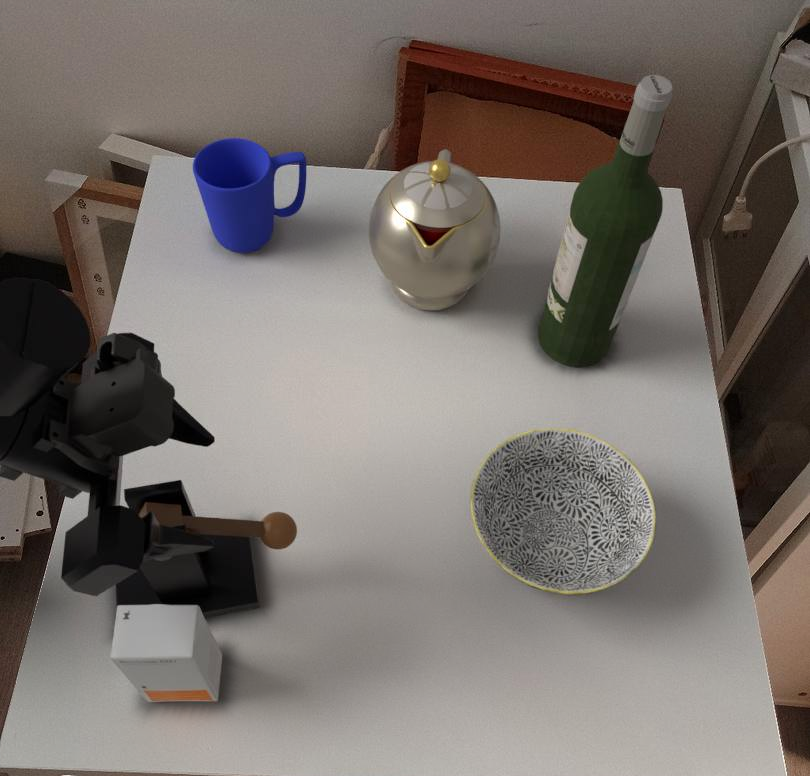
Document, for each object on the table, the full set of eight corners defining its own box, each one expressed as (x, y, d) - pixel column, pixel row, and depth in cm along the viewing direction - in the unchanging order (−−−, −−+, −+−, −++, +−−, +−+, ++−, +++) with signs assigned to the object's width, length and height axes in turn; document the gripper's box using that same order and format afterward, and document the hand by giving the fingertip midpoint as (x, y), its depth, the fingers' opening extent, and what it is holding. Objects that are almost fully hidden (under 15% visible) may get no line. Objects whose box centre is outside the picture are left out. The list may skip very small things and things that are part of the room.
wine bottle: (534, 310, 91) (599, 51, 65) (605, 312, 91) (698, 54, 65) (539, 367, 87) (611, 116, 61) (613, 369, 88) (716, 120, 61)
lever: (285, 524, 73) (300, 506, 70) (290, 556, 71) (305, 539, 69) (135, 513, 66) (146, 493, 64) (137, 549, 64) (149, 529, 62)
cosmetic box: (147, 704, 69) (106, 659, 58) (153, 654, 71) (115, 602, 60) (220, 703, 69) (193, 658, 58) (225, 653, 71) (199, 601, 61)
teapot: (484, 343, 89) (506, 225, 74) (359, 327, 89) (357, 207, 75) (497, 225, 98) (518, 100, 83) (383, 211, 98) (385, 84, 84)
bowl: (653, 613, 74) (680, 579, 68) (479, 635, 73) (490, 603, 66) (607, 462, 82) (627, 419, 75) (449, 479, 80) (456, 436, 74)
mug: (321, 243, 95) (316, 171, 86) (219, 269, 93) (203, 198, 84) (299, 196, 99) (292, 122, 90) (200, 220, 96) (183, 147, 88)
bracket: (248, 528, 77) (227, 455, 66) (259, 607, 73) (239, 544, 62) (117, 550, 75) (72, 480, 64) (121, 633, 72) (75, 573, 60)
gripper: (57, 498, 44) (284, 567, 54) (85, 244, 53) (275, 345, 64) (-35, 571, 50) (185, 619, 61) (4, 332, 59) (190, 411, 70)
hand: (211, 492), depth 63 cm, fingers open, 9 cm apart
